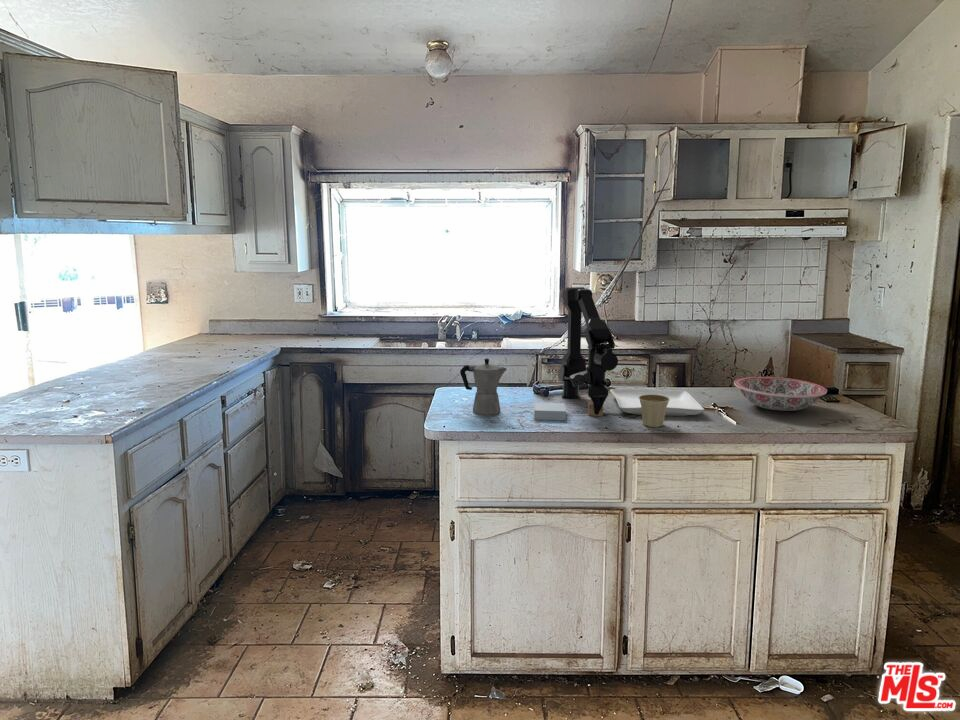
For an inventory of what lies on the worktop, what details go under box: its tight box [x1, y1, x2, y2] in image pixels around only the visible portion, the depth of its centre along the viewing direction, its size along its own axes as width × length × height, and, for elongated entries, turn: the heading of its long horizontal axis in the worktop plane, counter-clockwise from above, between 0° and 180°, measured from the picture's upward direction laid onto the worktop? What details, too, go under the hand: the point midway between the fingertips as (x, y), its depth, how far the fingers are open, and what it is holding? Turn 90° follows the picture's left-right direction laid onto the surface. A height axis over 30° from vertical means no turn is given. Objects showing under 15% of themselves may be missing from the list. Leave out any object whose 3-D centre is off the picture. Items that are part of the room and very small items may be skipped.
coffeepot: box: [459, 358, 507, 416], centre depth 228 cm, size 15×9×18 cm, turn 88°
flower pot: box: [639, 394, 670, 428], centre depth 214 cm, size 9×9×9 cm
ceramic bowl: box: [734, 376, 828, 412], centre depth 235 cm, size 29×29×8 cm
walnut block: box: [587, 400, 604, 417], centre depth 227 cm, size 4×4×4 cm
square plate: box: [609, 388, 705, 417], centre depth 236 cm, size 27×27×4 cm
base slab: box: [533, 402, 567, 421], centre depth 224 cm, size 10×10×3 cm
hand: (595, 410), depth 227 cm, fingers open, 9 cm apart
